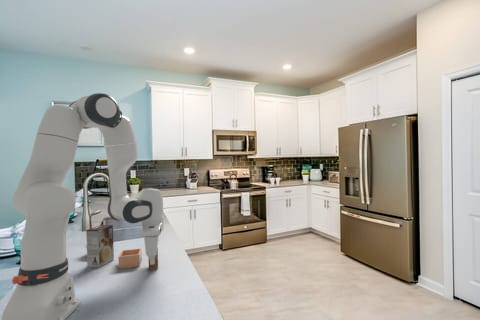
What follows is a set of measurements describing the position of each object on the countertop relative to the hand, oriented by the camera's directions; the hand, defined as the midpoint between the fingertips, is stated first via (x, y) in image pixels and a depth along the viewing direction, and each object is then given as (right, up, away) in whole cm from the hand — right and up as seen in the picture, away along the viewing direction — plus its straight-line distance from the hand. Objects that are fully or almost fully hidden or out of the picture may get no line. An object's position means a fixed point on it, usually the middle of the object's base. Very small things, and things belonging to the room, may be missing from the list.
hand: (153, 259), depth 108 cm
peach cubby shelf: (-12, -4, +5) cm, 13 cm away
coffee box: (-25, -4, +7) cm, 27 cm away
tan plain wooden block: (0, -4, 0) cm, 4 cm away
